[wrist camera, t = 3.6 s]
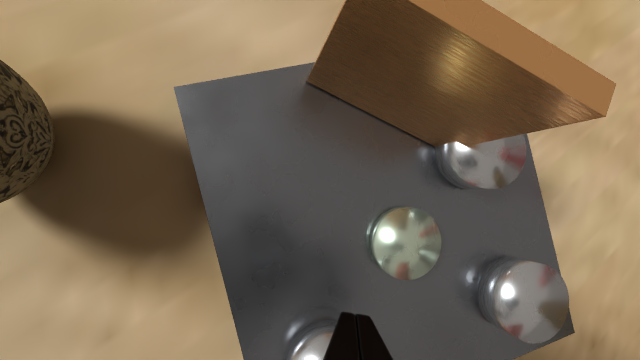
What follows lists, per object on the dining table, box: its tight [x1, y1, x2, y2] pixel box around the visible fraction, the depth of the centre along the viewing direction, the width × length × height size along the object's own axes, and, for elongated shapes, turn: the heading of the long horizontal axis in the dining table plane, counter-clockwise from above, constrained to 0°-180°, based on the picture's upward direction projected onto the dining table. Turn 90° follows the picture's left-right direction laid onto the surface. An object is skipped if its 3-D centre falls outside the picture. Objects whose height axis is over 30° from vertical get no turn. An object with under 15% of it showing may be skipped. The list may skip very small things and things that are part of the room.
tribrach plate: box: [174, 62, 575, 360], centre depth 18 cm, size 20×20×4 cm
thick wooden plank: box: [307, 0, 616, 189], centre depth 14 cm, size 13×4×9 cm, turn 66°
